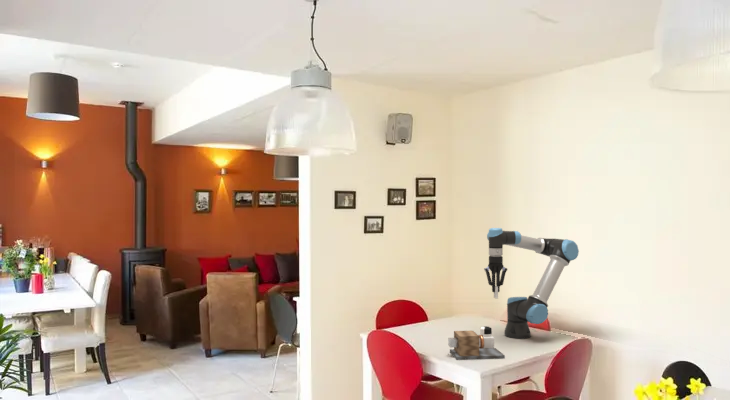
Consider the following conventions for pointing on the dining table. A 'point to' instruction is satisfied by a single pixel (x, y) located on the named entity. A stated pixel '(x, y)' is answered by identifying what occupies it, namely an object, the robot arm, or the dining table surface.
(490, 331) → the medicine bottle
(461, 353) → the bearing block
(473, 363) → the dining table surface
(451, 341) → the shaft
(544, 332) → the dining table surface
